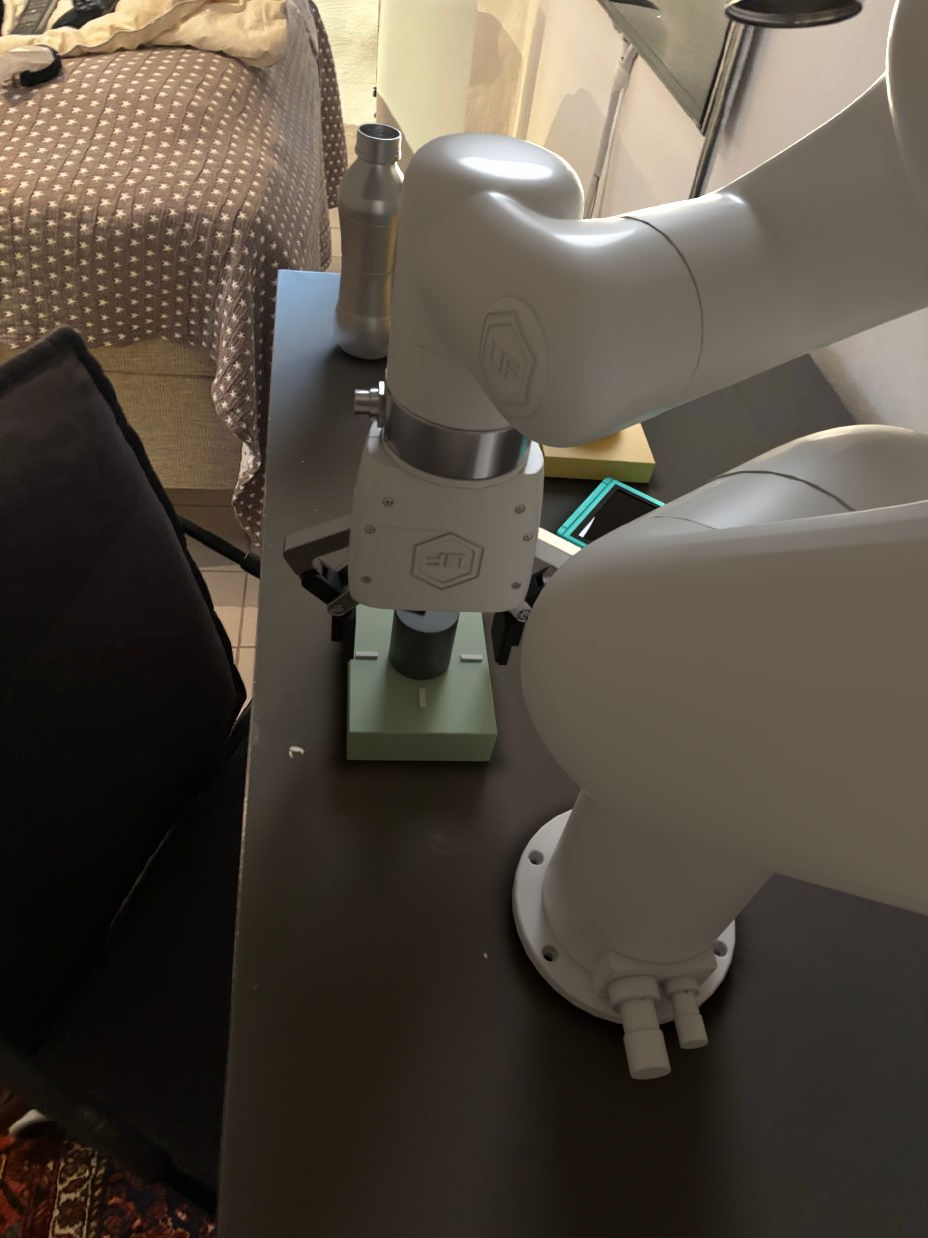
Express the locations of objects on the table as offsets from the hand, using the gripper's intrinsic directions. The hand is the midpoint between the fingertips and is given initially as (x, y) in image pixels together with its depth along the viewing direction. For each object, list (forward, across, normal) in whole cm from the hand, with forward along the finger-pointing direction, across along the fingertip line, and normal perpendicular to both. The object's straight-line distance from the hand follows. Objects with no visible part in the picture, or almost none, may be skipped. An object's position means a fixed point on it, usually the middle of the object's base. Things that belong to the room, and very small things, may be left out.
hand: (423, 646), depth 56 cm
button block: (+4, +17, +30) cm, 35 cm away
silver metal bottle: (+4, -3, +42) cm, 43 cm away
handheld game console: (+4, +21, +14) cm, 26 cm away
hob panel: (+4, 0, 0) cm, 4 cm away
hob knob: (+1, 0, 0) cm, 1 cm away
